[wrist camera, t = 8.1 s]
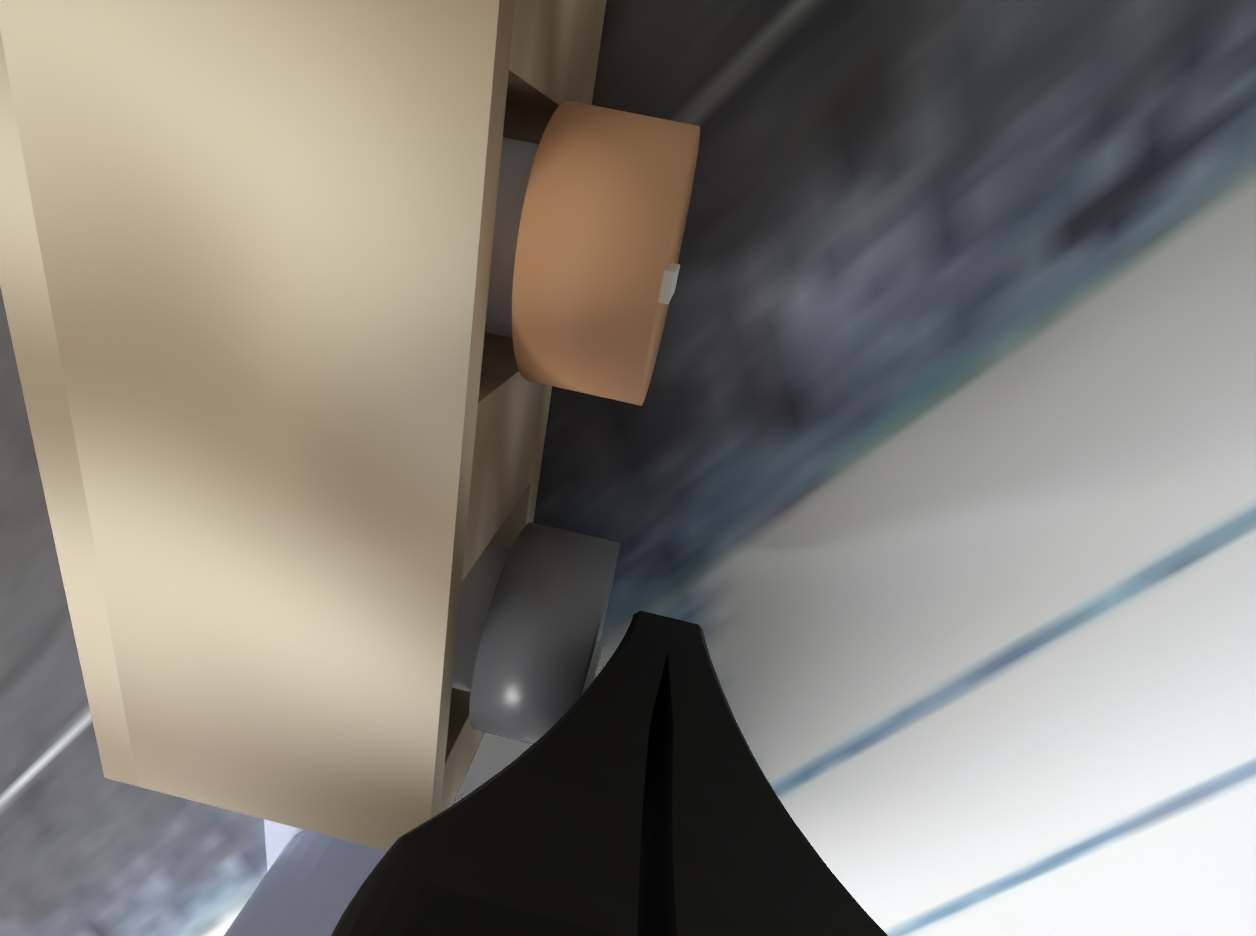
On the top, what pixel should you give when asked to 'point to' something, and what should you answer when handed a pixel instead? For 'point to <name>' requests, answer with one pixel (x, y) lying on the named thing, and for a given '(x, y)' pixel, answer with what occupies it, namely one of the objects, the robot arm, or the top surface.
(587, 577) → the charcoal knob
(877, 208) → the top surface
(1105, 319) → the top surface
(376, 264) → the mount
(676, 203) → the orange knob
